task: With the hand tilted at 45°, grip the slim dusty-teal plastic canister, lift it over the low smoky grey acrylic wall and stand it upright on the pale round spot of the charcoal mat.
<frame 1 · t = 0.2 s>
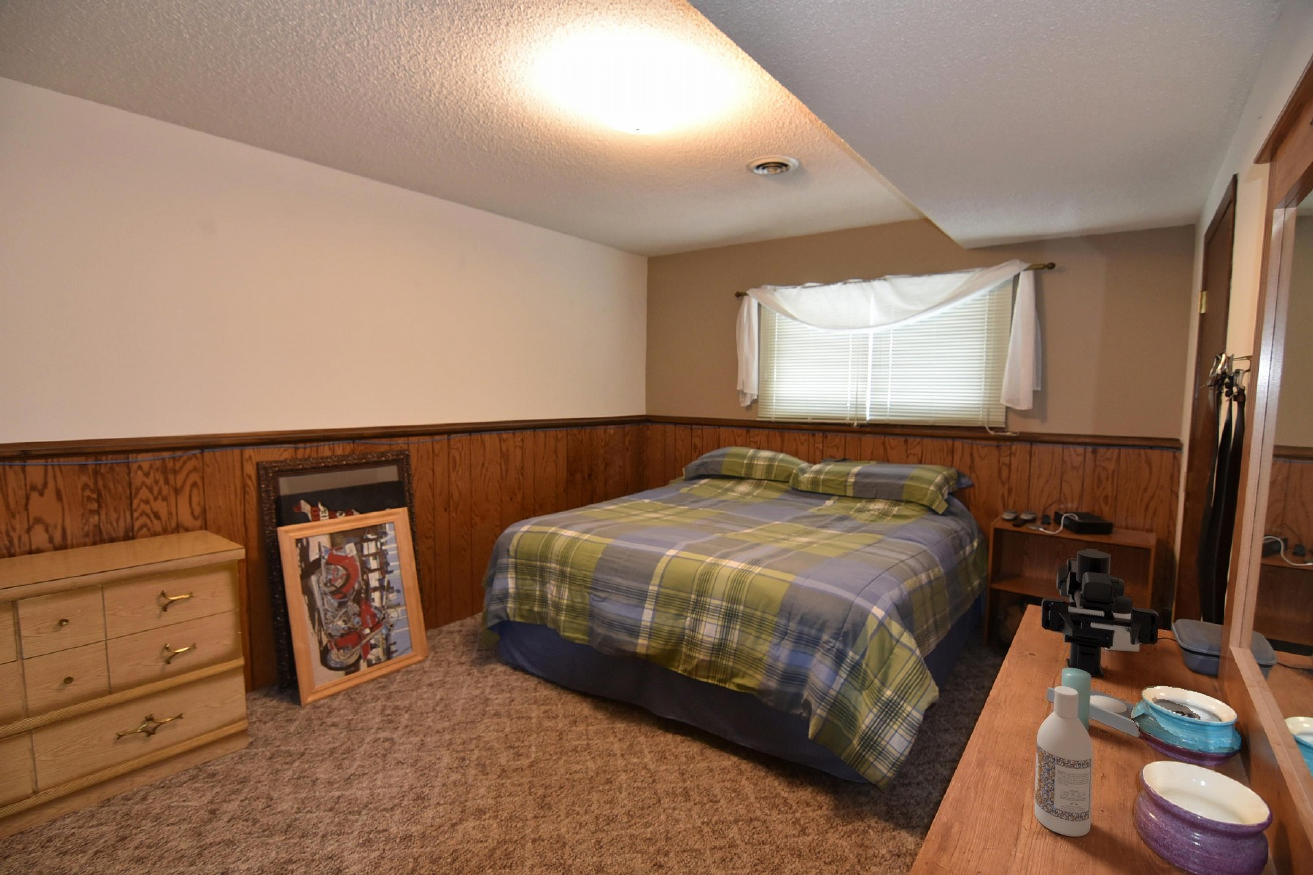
hand: (1103, 637, 119), 17 cm above the table, tool horizontal, fingers open, 9 cm apart
teal canister: (1074, 724, 121), on the table
low wall: (1090, 716, 123), on the table
medicine bottle: (1115, 645, 155), on the table
bath foam: (1061, 823, 95), on the table
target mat: (1105, 709, 126), on the table
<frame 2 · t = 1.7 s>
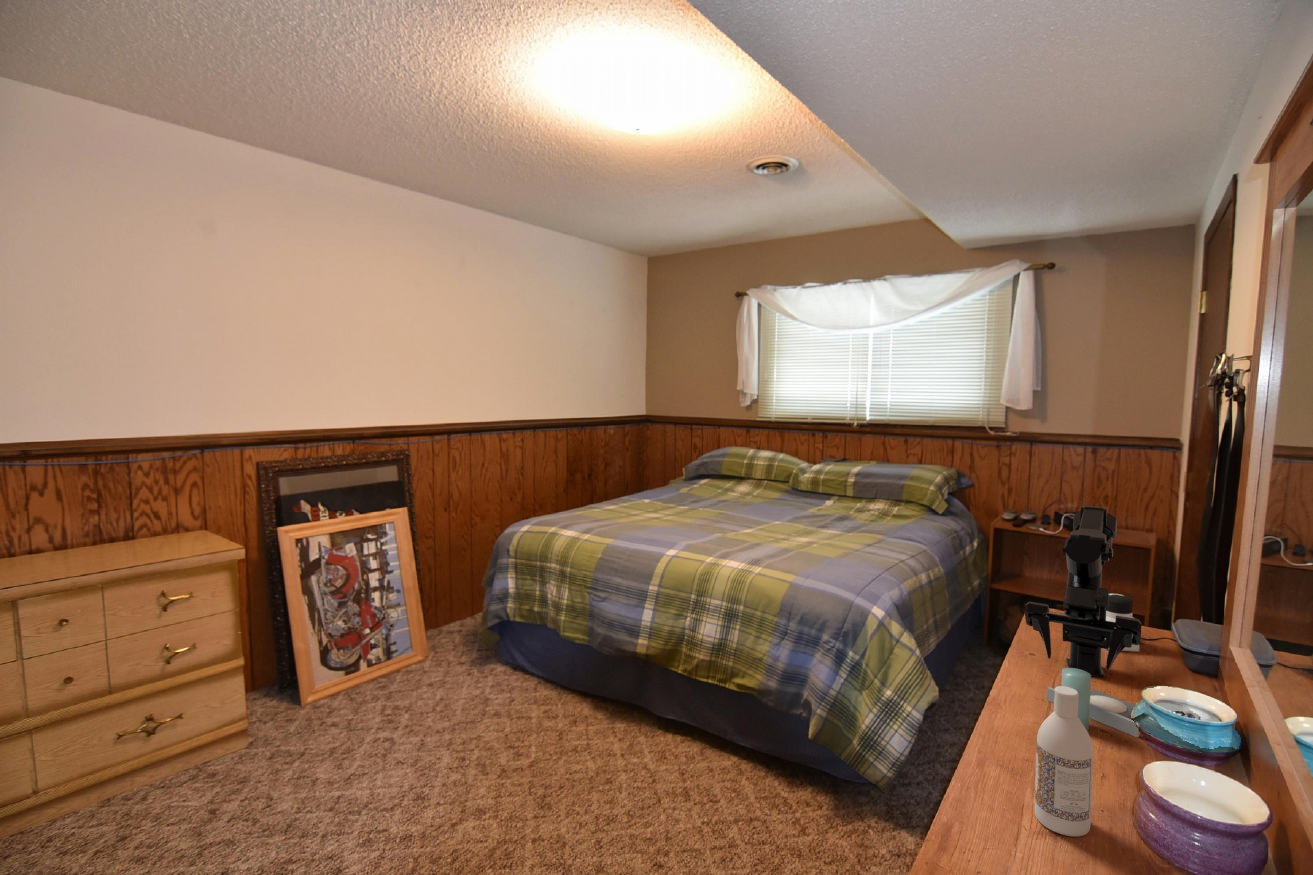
hand: (1077, 663, 122), 11 cm above the table, tool tilted 45°, fingers open, 9 cm apart
nothing on the table moved.
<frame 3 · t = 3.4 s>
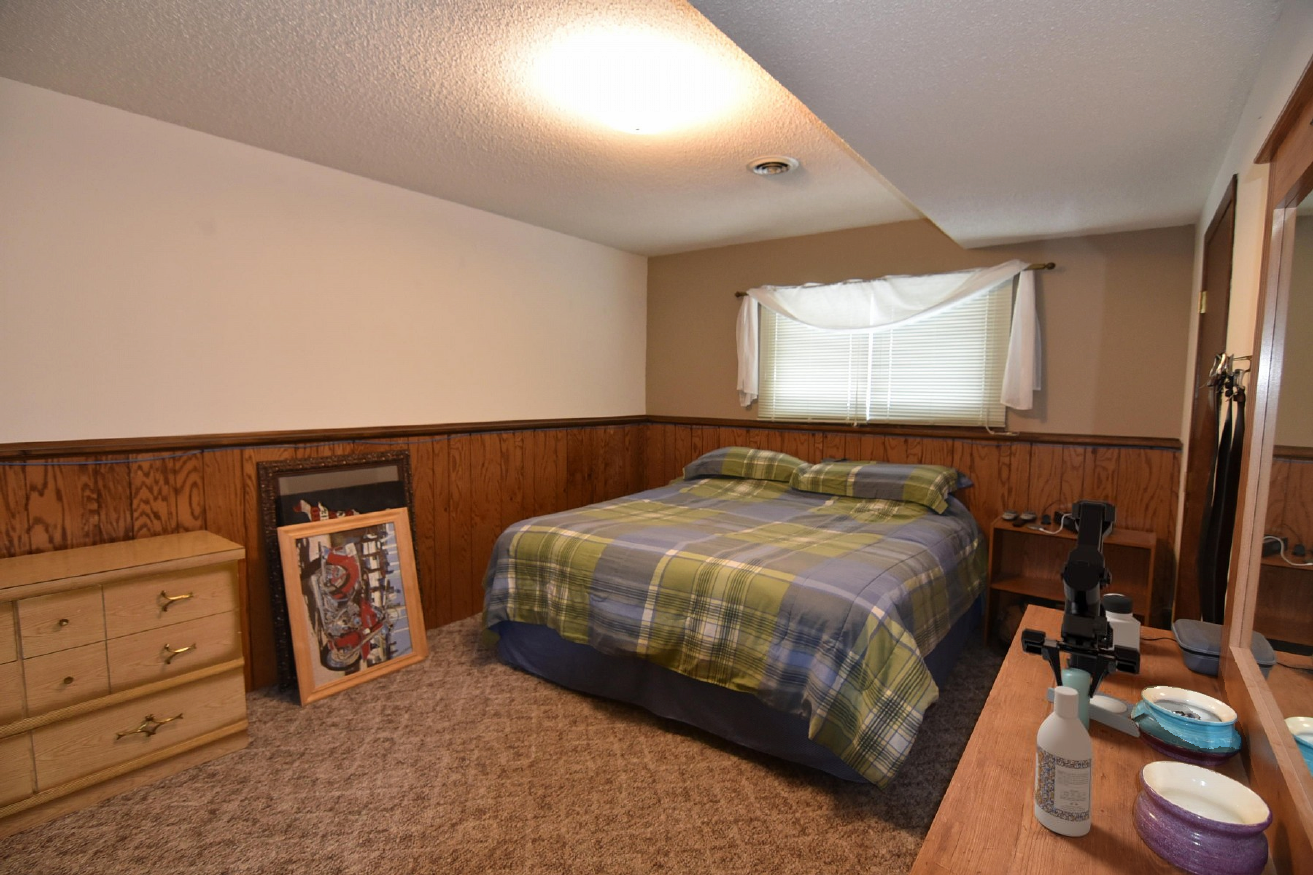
hand: (1075, 693, 119), 7 cm above the table, tool tilted 45°, fingers closed on teal canister, 4 cm apart
teal canister: (1074, 724, 121), on the table, touching gripper
everything else where it was.
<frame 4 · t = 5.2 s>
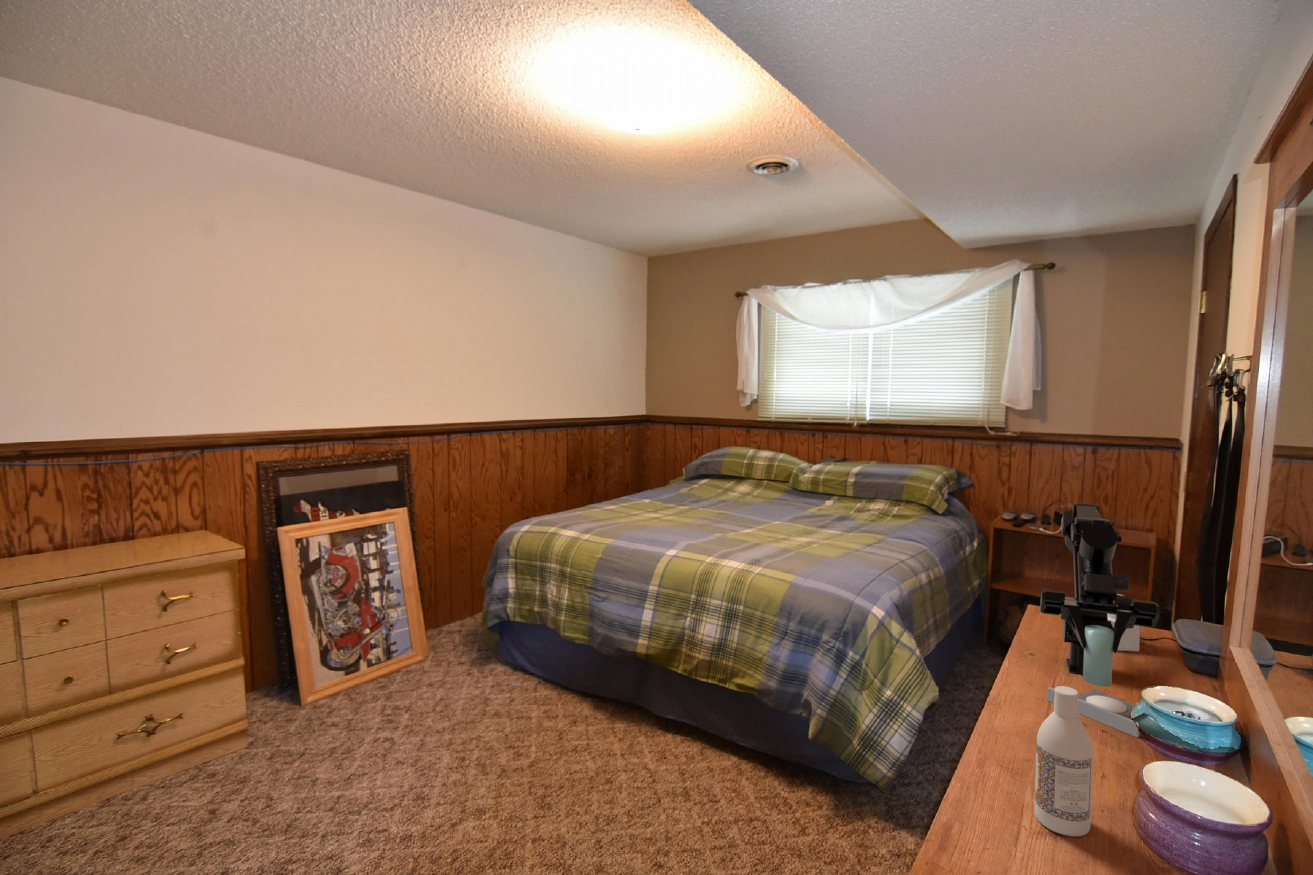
hand: (1099, 649, 121), 14 cm above the table, tool tilted 45°, fingers closed on teal canister, 4 cm apart
teal canister: (1097, 680, 123), point 7 cm above the table, touching gripper
everything else where it was.
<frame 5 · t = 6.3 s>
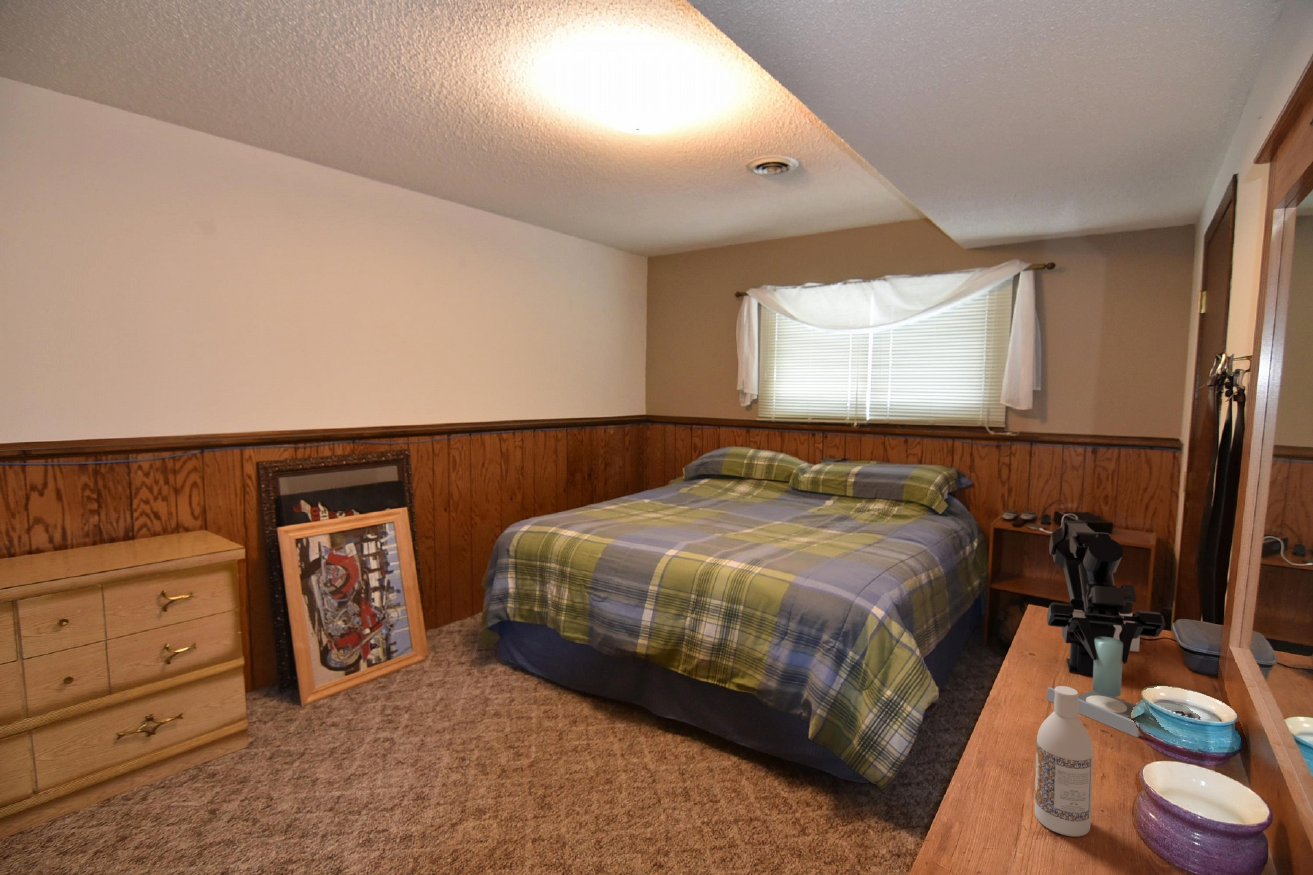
hand: (1109, 661, 124), 10 cm above the table, tool tilted 45°, fingers closed on teal canister, 4 cm apart
teal canister: (1106, 690, 126), point 4 cm above the table, touching gripper
everything else where it was.
when the fingers open (9 cm above the table, at t = 7.0 s): teal canister stays where it is, resting on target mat.
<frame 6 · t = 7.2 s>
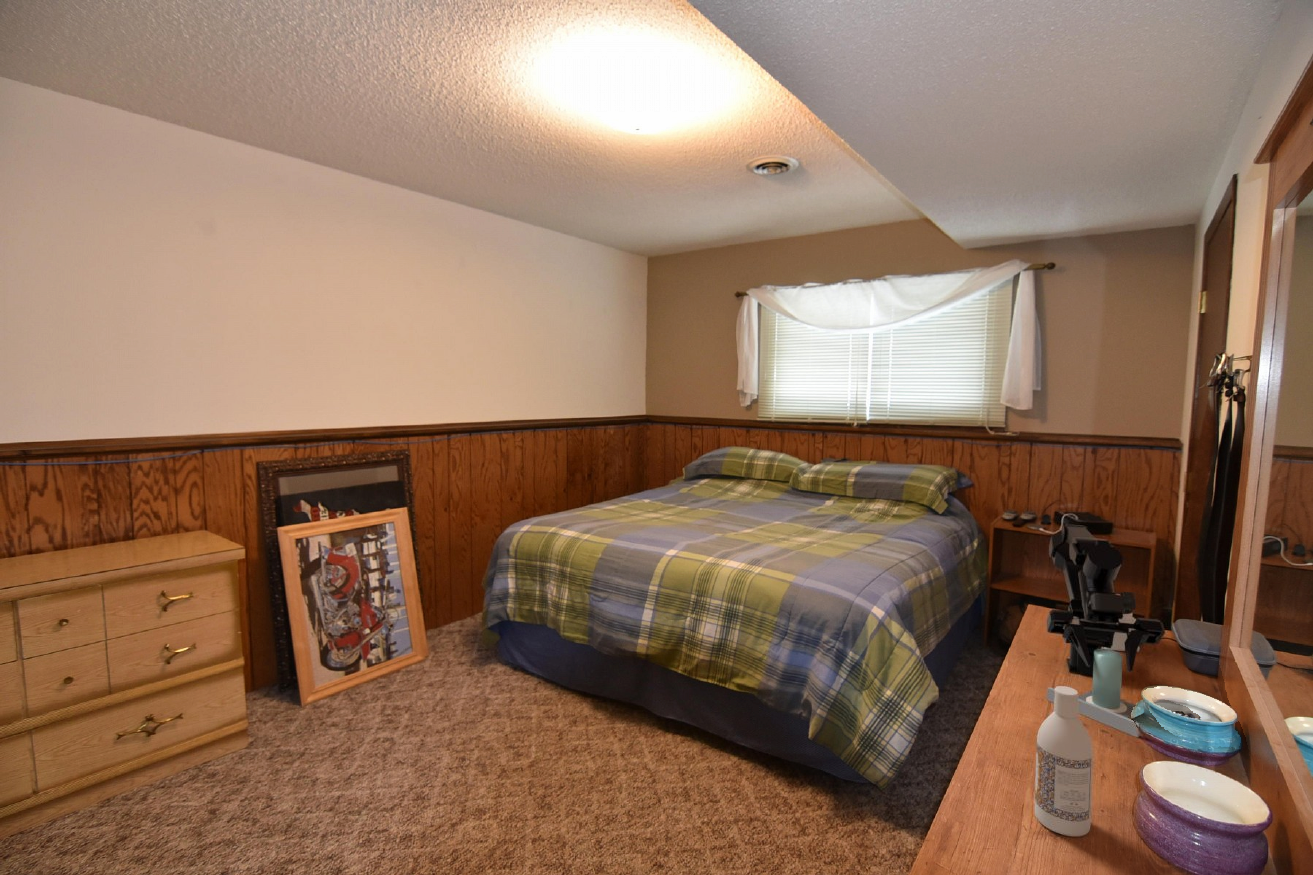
hand: (1109, 668, 124), 9 cm above the table, tool tilted 45°, fingers open, 6 cm apart
teal canister: (1106, 703, 126), point 1 cm above the table, touching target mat
everything else where it was.
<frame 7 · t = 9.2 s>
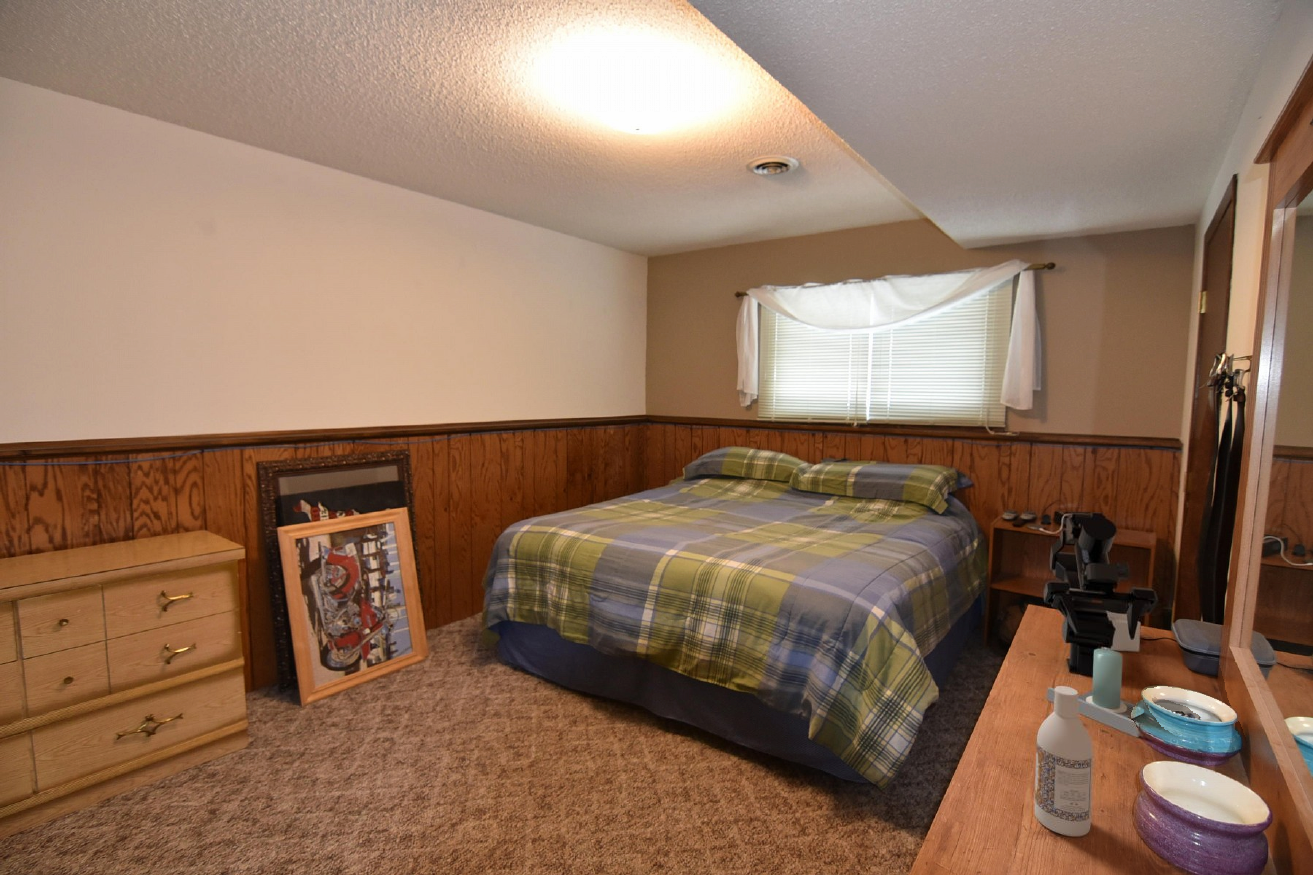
hand: (1104, 635, 128), 13 cm above the table, tool tilted 45°, fingers open, 9 cm apart
nothing on the table moved.
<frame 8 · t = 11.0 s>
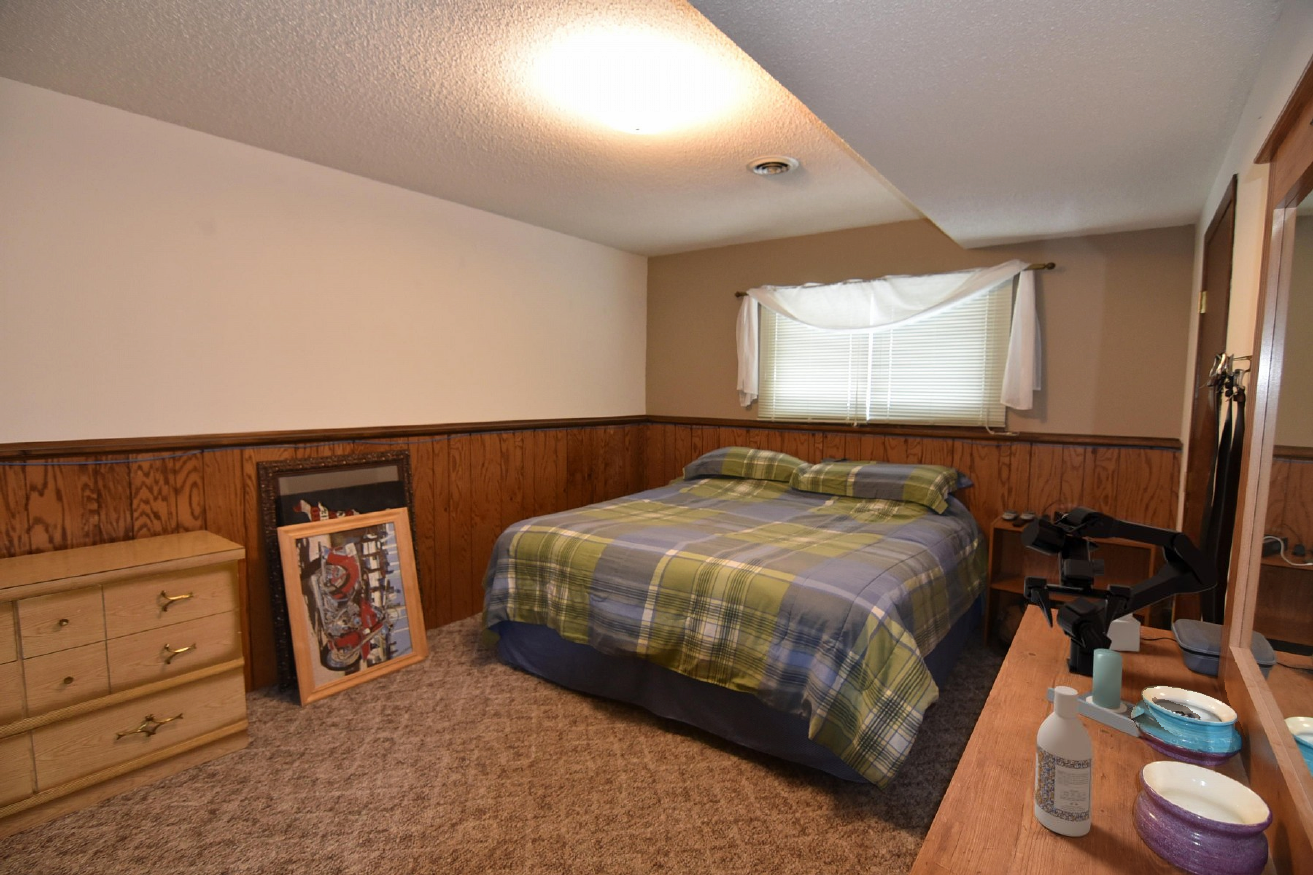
hand: (1078, 630, 130), 14 cm above the table, tool tilted 45°, fingers open, 9 cm apart
nothing on the table moved.
at the end: teal canister 0.1 cm off-centre on the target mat, point 1.2 cm above the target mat's base; teal canister tilted 0°; the gripper is holding nothing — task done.
